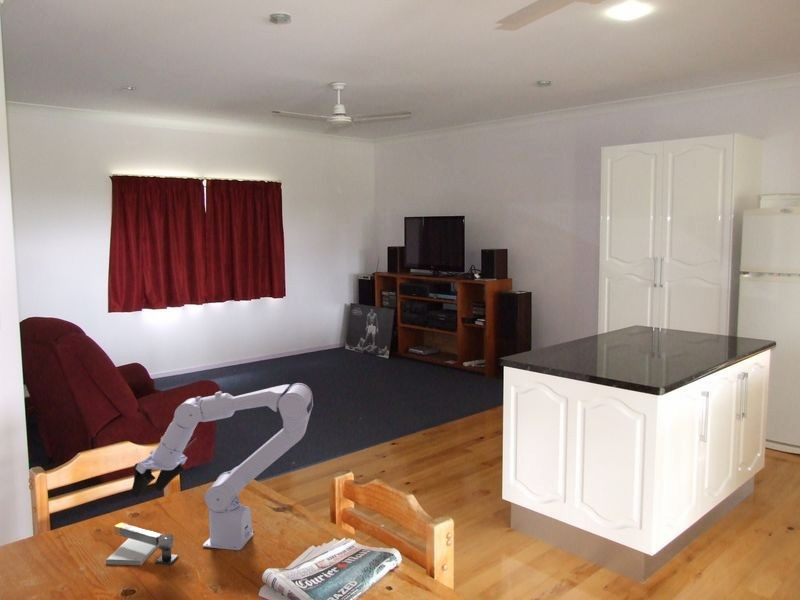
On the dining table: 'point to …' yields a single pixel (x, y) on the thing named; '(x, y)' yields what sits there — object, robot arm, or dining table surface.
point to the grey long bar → (144, 536)
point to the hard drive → (131, 553)
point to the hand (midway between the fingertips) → (146, 491)
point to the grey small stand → (166, 558)
